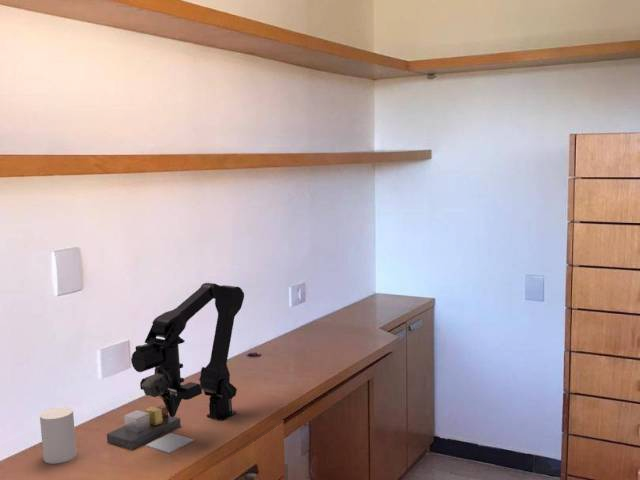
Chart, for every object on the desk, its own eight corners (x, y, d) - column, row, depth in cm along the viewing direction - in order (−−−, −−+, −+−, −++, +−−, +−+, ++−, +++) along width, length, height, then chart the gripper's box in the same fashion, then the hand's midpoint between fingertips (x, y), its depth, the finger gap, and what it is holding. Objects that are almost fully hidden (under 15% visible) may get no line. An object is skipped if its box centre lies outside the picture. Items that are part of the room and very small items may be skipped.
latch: (152, 420, 190) (151, 406, 189) (162, 422, 187) (161, 409, 187) (146, 422, 188) (145, 409, 187) (156, 425, 185) (155, 412, 185)
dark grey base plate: (156, 419, 197) (155, 402, 196) (180, 426, 191) (179, 408, 191) (107, 442, 182) (105, 423, 181) (131, 450, 177) (130, 430, 176)
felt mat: (170, 434, 186) (170, 432, 186) (193, 440, 181) (193, 439, 181) (145, 446, 179) (145, 444, 179) (169, 453, 174) (169, 452, 174)
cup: (80, 449, 179) (77, 406, 177) (70, 462, 170) (66, 418, 169) (50, 450, 178) (46, 407, 177) (38, 464, 170) (34, 419, 169)
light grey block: (137, 423, 188) (136, 409, 188) (149, 426, 186) (148, 413, 185) (125, 429, 185) (124, 415, 184) (137, 432, 182) (136, 418, 181)
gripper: (122, 365, 180) (127, 420, 182) (171, 375, 169) (175, 433, 171) (153, 354, 189) (157, 406, 191) (201, 363, 179) (205, 418, 180)
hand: (172, 416), depth 183 cm, fingers closed
